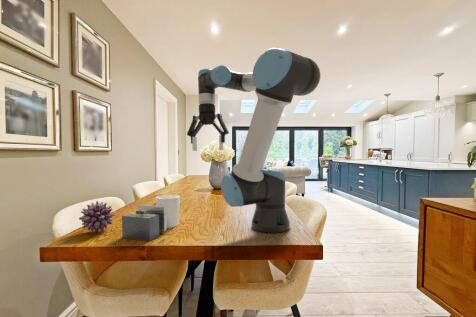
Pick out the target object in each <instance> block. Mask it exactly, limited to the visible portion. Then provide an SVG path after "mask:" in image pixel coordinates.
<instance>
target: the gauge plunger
mask: <svg viewBox="0 0 476 317" xmlns="http://www.w3.org/2000/svg"><path fill="white" fill-rule="evenodd" d="M135 213H136V214H153V215H159V232H160V231H161V232H165V231H167V228H166V206H156V205H153V204H152V205H151V204H148V205H147V204H138V205H137V210H136V211H135Z"/></svg>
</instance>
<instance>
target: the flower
mask: <svg viewBox="0 0 476 317" xmlns="http://www.w3.org/2000/svg"><path fill="white" fill-rule="evenodd" d="M90 204H91V205H90ZM90 204H87V205H86V207H87V208H82V211H80V213H81V214H83V215H82V216H80V217H78V220H79V221H81V225H82V227H81V228H82V229H84V230H85V229H87V231H90V233H93V232H94V230H95V233H98V232H99V230H100V231H101V232H104V231H105V229H107V228H108V227H107V226H108V225H112V224H113V219H112V218H113V217H114V216H116V214H115V213H112V211H113V208H112V205H108V206H107V202H105V203H104V202H103V201H101V202H100V203H99V201H97V200H96V202H95V204H94V202H91V203H90ZM104 228H105V229H104Z"/></svg>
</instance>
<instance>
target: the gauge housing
mask: <svg viewBox="0 0 476 317" xmlns="http://www.w3.org/2000/svg"><path fill="white" fill-rule="evenodd" d="M121 233H122V234H121V238H123V239H129V240H130V239H131V240H138V241H146V242H151V241H153V240H155V239H157V238H159V237H160V231H159V215H153V214H136V212H131V213H127V214H124V215H122V216H121Z"/></svg>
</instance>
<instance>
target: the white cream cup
mask: <svg viewBox="0 0 476 317" xmlns="http://www.w3.org/2000/svg"><path fill="white" fill-rule="evenodd" d="M180 200H181V196H180V195H178V194H163V195H162V194H161V195H157V196H155V206H166V229H169V228H176V227H177V226H178V225H179V223H180V222H179V221H180V205H181V204H180V202H181V201H180Z"/></svg>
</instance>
